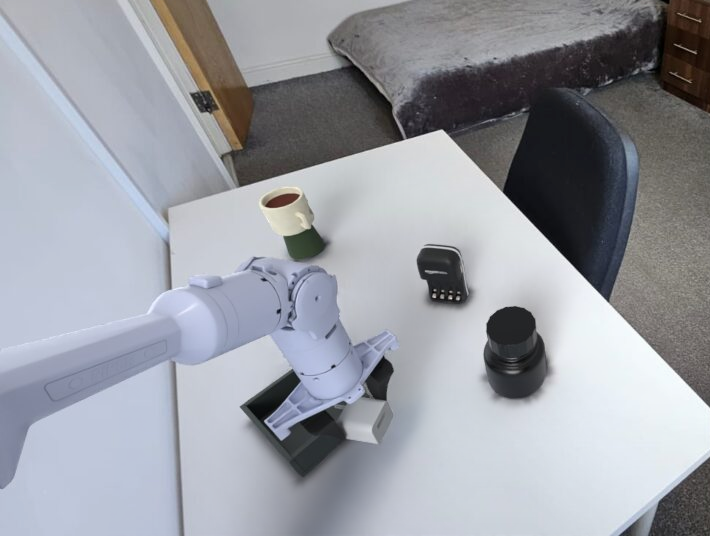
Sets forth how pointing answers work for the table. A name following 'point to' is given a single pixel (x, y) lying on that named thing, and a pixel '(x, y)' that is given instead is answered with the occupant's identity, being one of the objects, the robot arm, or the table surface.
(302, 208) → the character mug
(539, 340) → the ink bottle
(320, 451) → the open storage tray
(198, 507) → the table surface
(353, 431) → the usb wall charger
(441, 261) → the battery charger
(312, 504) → the table surface
